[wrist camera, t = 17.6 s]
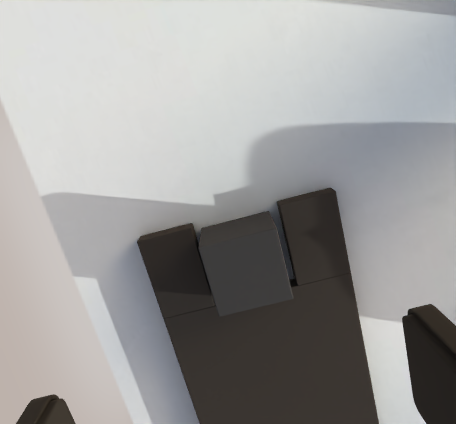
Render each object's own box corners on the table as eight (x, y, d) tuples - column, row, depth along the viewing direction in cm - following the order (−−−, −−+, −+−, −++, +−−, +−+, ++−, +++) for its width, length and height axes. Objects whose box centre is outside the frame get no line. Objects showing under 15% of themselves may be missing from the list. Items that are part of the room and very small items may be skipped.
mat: (241, 531, 35) (242, 545, 33) (140, 236, 27) (136, 241, 26) (389, 499, 34) (395, 513, 33) (330, 187, 26) (335, 190, 25)
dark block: (219, 288, 28) (218, 317, 24) (201, 227, 27) (197, 247, 23) (283, 273, 28) (293, 299, 24) (268, 210, 27) (276, 227, 23)
